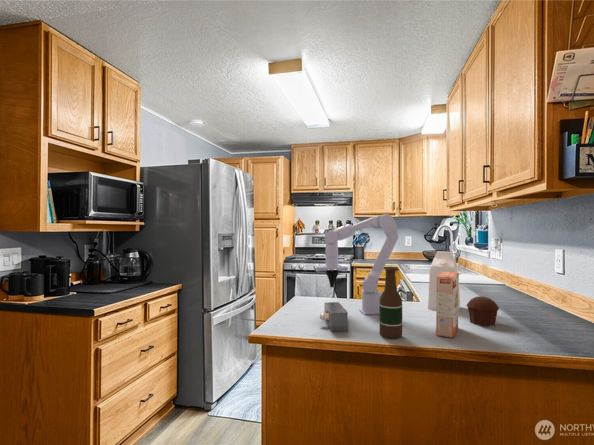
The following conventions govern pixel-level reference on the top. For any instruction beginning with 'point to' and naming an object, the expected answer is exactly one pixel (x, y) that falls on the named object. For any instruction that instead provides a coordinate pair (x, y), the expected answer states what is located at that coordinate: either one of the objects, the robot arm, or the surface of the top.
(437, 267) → the milk
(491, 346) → the top surface
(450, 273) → the cracker box
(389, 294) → the beer bottle
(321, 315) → the pin
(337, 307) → the block
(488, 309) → the muffin
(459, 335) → the top surface
